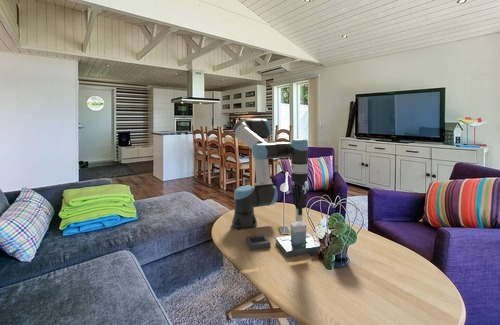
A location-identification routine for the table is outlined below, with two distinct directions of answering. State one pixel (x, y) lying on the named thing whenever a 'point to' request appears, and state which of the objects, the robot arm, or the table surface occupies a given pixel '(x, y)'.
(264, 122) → the robot arm
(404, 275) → the table surface
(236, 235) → the table surface
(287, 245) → the port panel
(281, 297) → the table surface
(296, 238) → the plug
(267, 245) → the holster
